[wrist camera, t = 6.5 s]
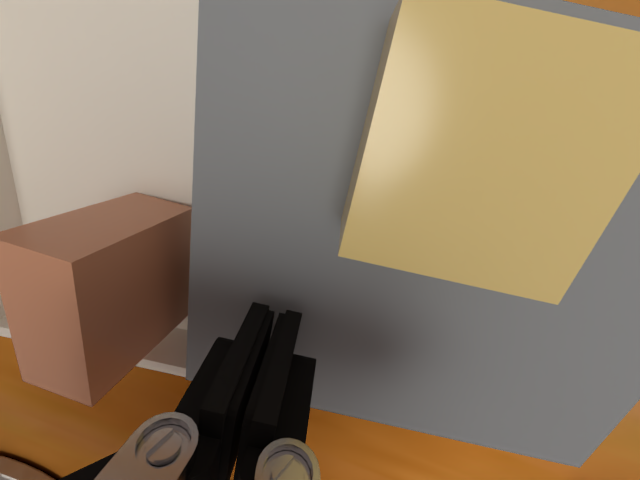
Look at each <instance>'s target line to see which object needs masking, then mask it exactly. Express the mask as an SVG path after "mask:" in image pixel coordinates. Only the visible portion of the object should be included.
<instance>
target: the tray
mask: <svg viewBox="0 0 640 480" xmlns="http://www.w3.org/2000/svg"><path fill="white" fill-rule="evenodd" d="M198 12H199V0H0V231H4V230H7V229H11V228H14V227H18V226H21V225H25V224H28V223H31V222H35V221H38V220H42V219H45V218H49V217H52V216H56V215H59V214H62V213H66V212H69V211H73V210H76V209H80V208H83V207H87V206H90V205H93V204H97V203H100V202H104V201H107V200H111V199H114V198H118V197H121V196H124V195H128V194H131V193H135V192H137V193H141V194H145V195H148V196H152V197H156V198H160V199H163V200H167V201H171V202H174V203H178V204H182V205H185V206H189V207H192V184H193V155H194V126H195V98H196V69H197V41H198ZM187 326H188V316H187V317H186V318H185V319H184V320H183V321H182V322H181V323H180V324H179V325H178V326H177V327H175V328H174V329H173V330H172V331H171V332H170V333H169V334H168V335H167V336H166V337H165V338H164V339H163V340H162V341H161V342H160V343H159V344H158V345H157V346H156V347H155V348H153V349H152V350H151V351H150V352H149V353H148V354H147V355H146V356H145V357H144V358H143V359H142V360H141V361H140V362H139V363H138V364H137V365H136V366H137V367H142V368H146V369H151V370H155V371H160V372H164V373H169V374H173V375H178V376H182V377H186V355H187ZM0 336H3V337H8V338H11V334H10V330H9V326H8V322H7V318H6V314H5V310H4V306H3V303H2V299H1V295H0Z"/></svg>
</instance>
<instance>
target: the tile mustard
mask: <svg viewBox="0 0 640 480" xmlns="http://www.w3.org/2000/svg"><path fill="white" fill-rule="evenodd" d="M639 173H640V32H639V31H635V30H630V29H625V28H621V27H616V26H612V25H607V24H603V23H598V22H593V21H589V20H584V19H580V18H575V17H571V16H566V15H561V14H557V13H552V12H548V11H543V10H539V9H534V8H529V7H525V6H520V5H516V4H511V3H507V2H502V1H497V0H398V2H397V4H396V7H395V9H394V11H393V13H392V15H391V18H390V20H389V24H388V28H387V33H386V37H385V41H384V45H383V49H382V53H381V57H380V61H379V65H378V70H377V74H376V78H375V82H374V86H373V90H372V94H371V98H370V102H369V107H368V111H367V115H366V119H365V123H364V127H363V131H362V135H361V139H360V144H359V148H358V152H357V156H356V160H355V164H354V168H353V172H352V176H351V181H350V185H349V189H348V193H347V197H346V201H345V205H344V209H343V213H342V218H341V227H340V238H339V249H338V256H340V257H344V258H349V259H353V260H358V261H362V262H367V263H371V264H376V265H380V266H385V267H389V268H394V269H398V270H403V271H407V272H412V273H416V274H421V275H425V276H430V277H434V278H439V279H443V280H448V281H452V282H457V283H461V284H466V285H470V286H475V287H479V288H484V289H488V290H493V291H497V292H502V293H506V294H511V295H515V296H520V297H524V298H529V299H533V300H538V301H542V302H547V303H551V304H556V305H558V304H559V303H560V301H561V299H562V298H563V296H564V294H565V293H566V291H567V290H568V288H569V286H570V285H571V283H572V281H573V280H574V278H575V277H576V275H577V273H578V272H579V270H580V269H581V267H582V265H583V264H584V262H585V260H586V259H587V257H588V256H589V254H590V252H591V251H592V249H593V248H594V246H595V244H596V243H597V241H598V239H599V238H600V236H601V235H602V233H603V231H604V230H605V228H606V227H607V225H608V223H609V222H610V220H611V218H612V217H613V215H614V214H615V212H616V210H617V209H618V207H619V206H620V204H621V202H622V201H623V199H624V197H625V196H626V194H627V193H628V191H629V189H630V188H631V186H632V184H633V183H634V181H635V180H636V178H637V176H638V175H639Z"/></svg>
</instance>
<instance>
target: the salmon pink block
mask: <svg viewBox="0 0 640 480" xmlns="http://www.w3.org/2000/svg"><path fill="white" fill-rule="evenodd" d="M191 212H192V207H189V206H185V205H182V204H178V203H174V202H171V201H167V200H163V199H160V198H156V197H152V196H148V195H145V194H141V193H137V192H135V193H131V194H128V195H124V196H121V197H118V198H114V199H111V200H107V201H104V202H100V203H97V204H93V205H90V206H87V207H83V208H80V209H76V210H73V211H69V212H66V213H62V214H59V215H56V216H52V217H49V218H45V219H42V220H38V221H35V222H31V223H28V224H25V225H21V226H18V227H14V228H11V229H7V230H4V231H0V295H1V299H2V303H3V306H4V310H5V314H6V318H7V322H8V326H9V330H10V334H11V338H12V341H13V345H14V349H15V353H16V357H17V361H18V365H19V369H20V373H21V376H22V380H23V381H24V382H27V383H29V384H32V385H35V386H37V387H40V388H42V389H45V390H48V391H50V392H53V393H56V394H58V395H61V396H64V397H66V398H69V399H71V400H74V401H77V402H79V403H82V404H85V405H87V406H90V407H93V406H94V405H95V404H96V403H97V402H98V401H99V400H100V399H101V398H102V397H103V396H104V395H105V394H106V393H107V392H108V391H109V390H111V389H112V388H113V387H114V386H115V385H116V384H117V383H118V382H119V381H120V380H121V379H122V378H123V377H124V376H125V375H126V374H127V373H128V372H129V371H130V370H131V369H133V368H134V367H135V366H136V365H137V364H138V363H139V362H140V361H141V360H142V359H143V358H144V357H145V356H146V355H147V354H148V353H149V352H150V351H151V350H152V349H153V348H155V347H156V346H157V345H158V344H159V343H160V342H161V341H162V340H163V339H164V338H165V337H166V336H167V335H168V334H169V333H170V332H171V331H172V330H173V329H174V328H175V327H177V326H178V325H179V324H180V323H181V322H182V321H183V320H184V319H185V318H186V317H187V316H188V298H189V269H190V241H191Z"/></svg>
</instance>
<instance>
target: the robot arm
mask: <svg viewBox="0 0 640 480" xmlns="http://www.w3.org/2000/svg"><path fill="white" fill-rule="evenodd" d="M274 313H275V312H274V311H271V310H269V305H265V304H260V303H256V302H253V303H252V305H251V307H250V309H249V311H248V313H247V315H246V317H245V319H244V321H243V323H242V325H241V327H240V329H239V331H238V333H237V335H236V337H235V339H234V340H231V339H227V338H222V337H218V338H217V339H216V340H215V342H214V344H213V345H212V347H211V349H210V351H209V352H208V354H207V356H206V358H205V359H204V361H203V363H202V365H201V366H200V368H199V370H198V372H197V373H196V375H195V377H194V378H193V380H192V382H191V384H190V385H189V387H188V389H187V391H186V392H185V394H184V396H183V398H182V399H181V401H180V403H179V405H178V406H177V408H176V410H175V412H167V413H162V414H159V415H156V416H154V417H152V418H150V419H149V420H147V421H145V422H144V423H143V424H142V425H141V426H140V427H139V428H137V429H136V430H135V432H134V433H133V434H132V435H131V436H130V438H129V439H128V440H127V441H126V442H125V443H124V445H123V446H122V447H121V448H120V449H119V451H118V452H116V453H114V454H111V455H109V456H107V457H105V458H103V459H101V460H99V461H97V462H95V463H93V464H90V465H88V466H86V467H84V468H82V469H80V470H78V471H76V472H74V473H71V474H69V475H67V476H65V477H63V478H61V479H59V480H230V477H231V473H232V470H233V467H234V464H235V461H236V458H237V461H236V467H235V474H234V480H320V469H319V464H318V460H317V458H316V456H315V454H314V452H313V451H312V450H311V449H310V448H309V447H308V446H307V445H306V444H305V442H306V434H307V427H308V419H309V412H310V404H311V397H312V389H313V382H314V375H315V367H316V359H315V358H310V357H306V356H302V355H297V354H293V353H294V349H295V344H296V340H297V335H298V331H299V326H300V322H301V318H302V313H300V312H296V311H291V310H286V313H285V314H284V313H280V312H279V315H278V318H277V321H276V324H275V326H274V329H273V332H272V335H271V330H272V324H273V319H274ZM270 335H271V338H270ZM0 480H56V479H54V478H52V477H50V476H49V475H47V474H45V473H44V472H42V471H40V470H38V469H36V468H33V467H31V466H29V465H27V464H25V463H22V462H19V461H17V460H14V459H11V458H8V457H4V456H0Z"/></svg>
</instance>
